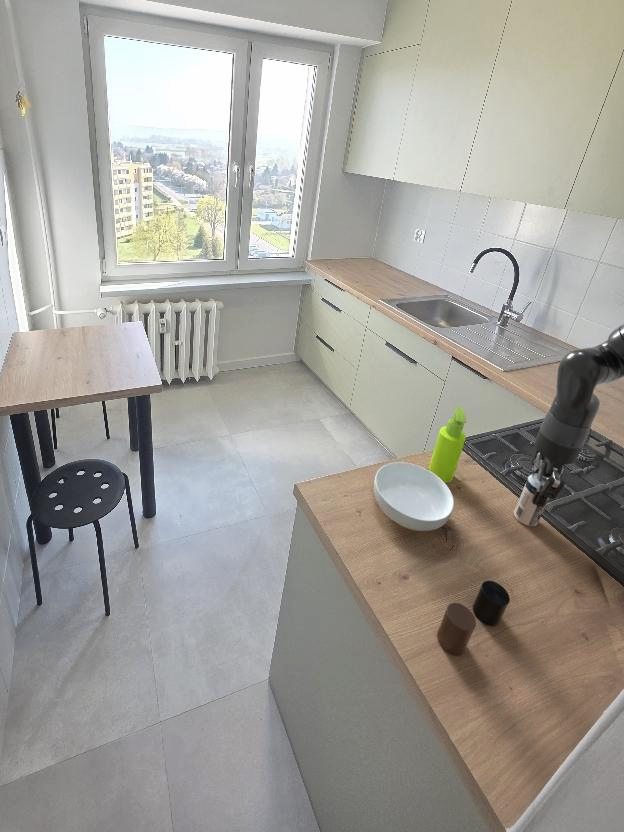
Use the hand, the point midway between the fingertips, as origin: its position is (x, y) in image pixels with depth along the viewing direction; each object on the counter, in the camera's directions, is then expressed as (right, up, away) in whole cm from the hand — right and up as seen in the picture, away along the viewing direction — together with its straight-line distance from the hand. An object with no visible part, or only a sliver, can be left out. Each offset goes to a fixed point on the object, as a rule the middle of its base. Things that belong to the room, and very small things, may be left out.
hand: (535, 495), depth 93 cm
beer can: (0, -7, +3) cm, 8 cm away
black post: (-21, -15, -17) cm, 31 cm away
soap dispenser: (-14, -1, +15) cm, 20 cm away
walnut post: (-30, -16, -21) cm, 40 cm away
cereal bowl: (-27, -5, +4) cm, 28 cm away
